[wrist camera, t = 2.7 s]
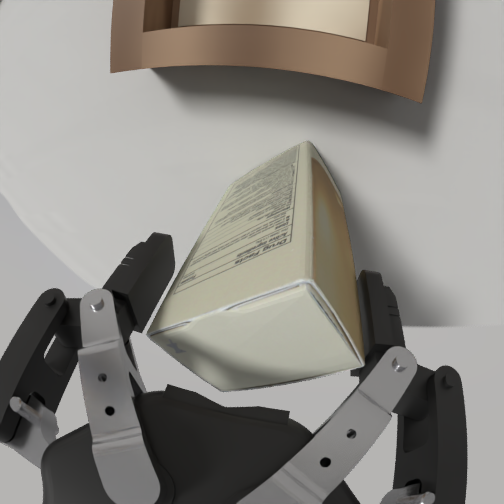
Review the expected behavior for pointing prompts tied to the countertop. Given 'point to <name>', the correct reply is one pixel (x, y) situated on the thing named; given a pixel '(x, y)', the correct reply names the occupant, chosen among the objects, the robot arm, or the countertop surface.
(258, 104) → the countertop surface
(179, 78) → the countertop surface
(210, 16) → the socket block
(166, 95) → the countertop surface
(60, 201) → the countertop surface
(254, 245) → the skincare box
